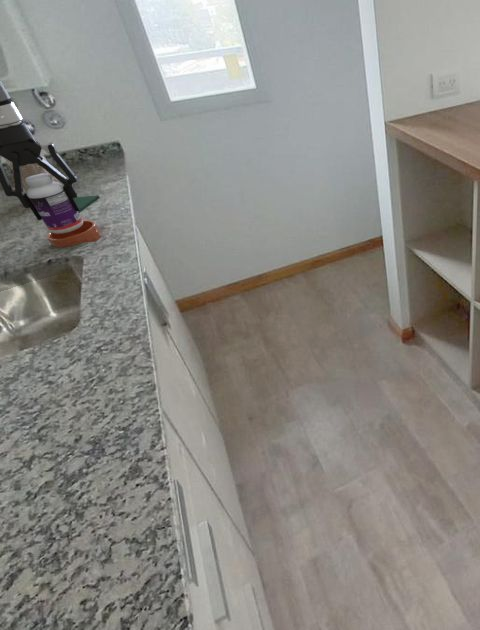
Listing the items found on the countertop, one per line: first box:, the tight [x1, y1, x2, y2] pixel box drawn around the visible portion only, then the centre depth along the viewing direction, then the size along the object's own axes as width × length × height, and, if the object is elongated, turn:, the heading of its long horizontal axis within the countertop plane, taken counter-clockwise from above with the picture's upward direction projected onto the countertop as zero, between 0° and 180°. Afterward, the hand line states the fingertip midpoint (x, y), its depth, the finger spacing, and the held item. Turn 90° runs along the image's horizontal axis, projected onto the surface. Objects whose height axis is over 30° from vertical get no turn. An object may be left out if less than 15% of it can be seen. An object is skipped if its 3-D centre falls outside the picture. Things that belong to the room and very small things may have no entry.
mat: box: [75, 195, 100, 214], centre depth 144 cm, size 12×12×1 cm
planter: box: [4, 150, 62, 193], centre depth 145 cm, size 10×10×23 cm
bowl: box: [46, 219, 102, 248], centre depth 122 cm, size 12×12×4 cm
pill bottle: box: [25, 173, 84, 234], centre depth 116 cm, size 8×8×14 cm
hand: (59, 213), depth 118 cm, fingers closed on pill bottle, 8 cm apart
